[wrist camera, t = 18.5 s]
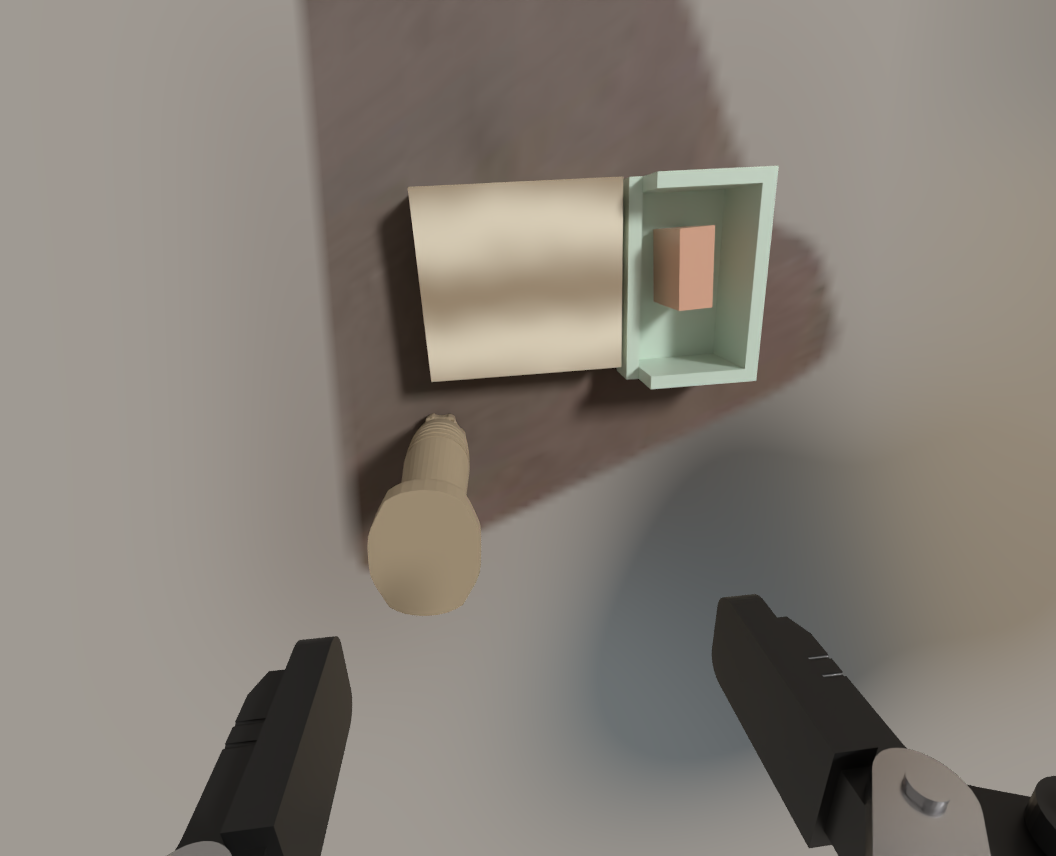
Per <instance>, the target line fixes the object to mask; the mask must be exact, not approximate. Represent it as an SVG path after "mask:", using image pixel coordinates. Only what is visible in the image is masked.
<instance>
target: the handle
mask: <svg viewBox="0 0 1056 856" xmlns="http://www.w3.org/2000/svg"><path fill="white" fill-rule="evenodd" d="M469 469H470V465H469V451H468V444H467V440H466V435H465V432H464V430H463V429H461V428H460V427H459V426H458V424H457V422H456V420H455V416H453V415H452V414H447V415H436V414H434V413H433V414H430V415H429V416H428V417H427V418H426V422H425V423H424V424H423V425H422V426H421V427H420V428H419V429H418V430H417V432H416V433H415V435H414V436H413V438H412V441H411V443H410V445H409V448H408V451H407V454H406V457H405V461H404V467H403V475H402V482H401V483H400V484H398V485H396V486H394V487H393V488H391V489H389V490H388V491H387V493H386V495H385V497H384V499H383V501H382V503H381V505H380V507H379V509H378V511H377V513H376V515H375V518H374V521H373V523H372V526H371V528H370V532H369V536H368V560H369V570H370V575H371V578H372V580H373V582H374V584H375V586H376V588H377V589H378V591H379V592H380V594H381V595H382V597H383V598H384V600H385V601H386V603H387V604H388V605H389V607H390V608H392V609H394V610H396V611H399V612H402V613H405V614H410V615H419V616H429V615H438V614H443V613H447V612H449V611H452V610H454V609H456V608H458V607H460V606H462V605H463V604H464V602H465V600H466V598H467V597H468V595H469V594H470V591H471V590H472V588H473V587H474V585H475V583H476V581H477V578H478V576H479V573H480V565H481V528H480V522H479V520H478V518H477V515H476V513H475V511H474V509H473V507H472V505H471V503H470V501H469V499H468V497H467V496H466V493H467V485H468V478H469Z"/></svg>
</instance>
